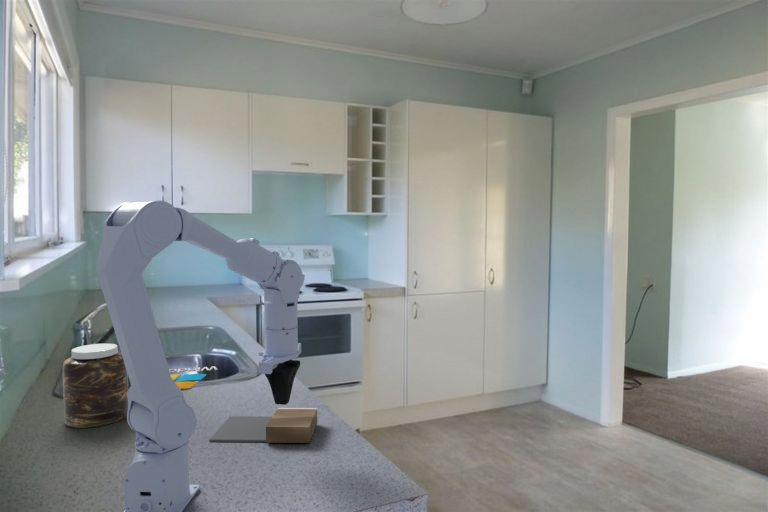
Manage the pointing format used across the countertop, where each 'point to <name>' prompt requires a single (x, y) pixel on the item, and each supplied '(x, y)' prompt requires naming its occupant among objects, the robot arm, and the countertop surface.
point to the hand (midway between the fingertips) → (282, 403)
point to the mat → (242, 429)
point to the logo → (188, 377)
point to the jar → (95, 386)
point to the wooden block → (292, 425)
